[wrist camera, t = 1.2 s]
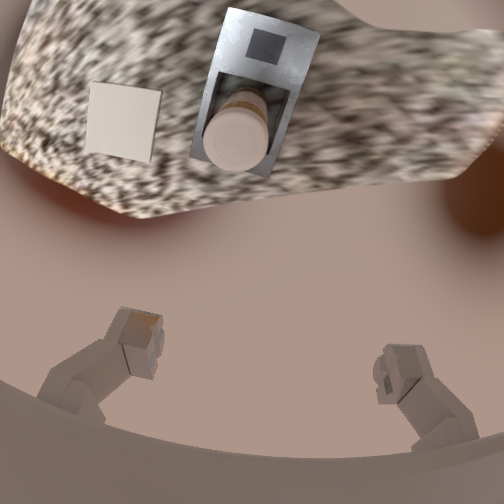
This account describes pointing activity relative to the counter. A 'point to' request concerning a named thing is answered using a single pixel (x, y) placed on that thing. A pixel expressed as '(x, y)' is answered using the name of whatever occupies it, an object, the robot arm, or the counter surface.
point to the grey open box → (258, 70)
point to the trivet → (122, 120)
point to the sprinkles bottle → (238, 131)
